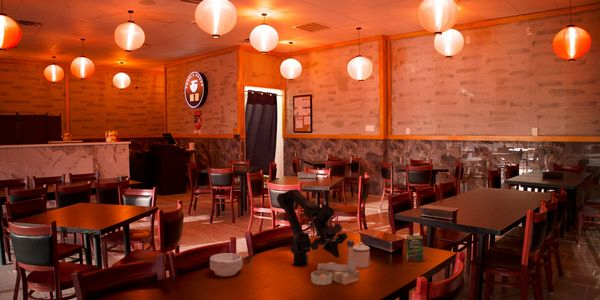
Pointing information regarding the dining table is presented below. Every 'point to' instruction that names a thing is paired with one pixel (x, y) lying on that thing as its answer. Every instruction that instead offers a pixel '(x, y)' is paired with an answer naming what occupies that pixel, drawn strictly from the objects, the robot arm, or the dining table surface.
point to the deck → (343, 276)
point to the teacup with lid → (361, 255)
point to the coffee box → (415, 248)
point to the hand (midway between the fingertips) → (338, 257)
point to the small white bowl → (321, 280)
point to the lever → (340, 267)
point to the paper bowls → (225, 264)
